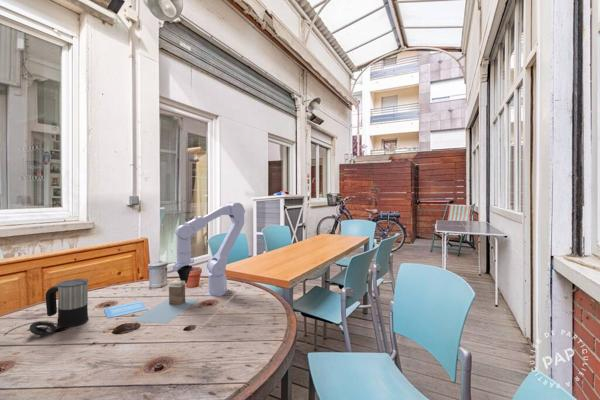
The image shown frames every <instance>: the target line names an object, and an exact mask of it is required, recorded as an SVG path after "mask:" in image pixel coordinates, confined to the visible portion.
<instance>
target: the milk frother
mask: <svg viewBox="0 0 600 400" xmlns="http://www.w3.org/2000/svg"><path fill="white" fill-rule="evenodd" d="M89 282H90V280H89V279H88V278H87V279H86V278H75V279H68V280H67V279H66V280H63V281H61V282H58V283H56V285H54V286H52V287H50V288H48V290H46V293H45V304H46V314H47V316H48V317H52V316H54V315H56V314H57V322H56V323H55V322H49V321H36V322H32V323H31V324H30V325H29V328H28V329H29V332H30V333H32V334H33V335H37V336H40V337H43V336H47V335H51V334H53V333H55V332H56V330H57V327H58V328H71V327H76V325H77V326H80V325H82V324H84V323H86V322H88V321H89V313H88V304H89V303H88V300H89V299H88V296H89V295H88V293H89V292H88V291H89V290H88V289H89V288H88V287H89V286H88V285H89ZM57 298H58V300H57ZM48 328H50V330H49V329H48ZM42 335H43V336H42Z"/></svg>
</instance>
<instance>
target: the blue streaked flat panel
mask: <svg viewBox="0 0 600 400" xmlns="http://www.w3.org/2000/svg"><path fill="white" fill-rule="evenodd" d="M103 311H104V314H105V316H106V317H107V319H112V318H116V317H120V316H121V317H122V316H125V315H128V314H134V313H139V312H144V311H149V309H148V307H147V306H146V305H145V304H144V303H143V301H140V300H138V301H133V302H129V303H123V304H118V305H114V306H109V307H104V308H103Z"/></svg>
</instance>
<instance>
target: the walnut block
mask: <svg viewBox="0 0 600 400" xmlns="http://www.w3.org/2000/svg"><path fill="white" fill-rule="evenodd" d="M168 298H169V305H181V304H183V303H184V302H185V299H186V283H185V281H180V280H172V281H171V282H169V283H168Z"/></svg>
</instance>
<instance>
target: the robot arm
mask: <svg viewBox="0 0 600 400" xmlns="http://www.w3.org/2000/svg"><path fill="white" fill-rule="evenodd" d="M245 213H246V209H245V207H244V205H243V204H242V203H240V202H231V201H230V202H228V203H227V204H223V205H221V206H219V207H218V208H215V209H214V210H213V211H211V212H209V213H208V214H206V215H204V216H202V215H199V216H198V215H195V216H194V217H193V219H192V220H191V219H190V220H189V221H185V222H184V224H180V225H179V226H177V227H176V229H175V235H176V261H175V262H174V265H172V271H174V272H175V271H176V272H177V274H178V277H179V281H185V284H187V283H188V280H189V275H190V273H191V271H192V268H193V265H192V264H194V263H195V259H194V258H192V255H191V254H192V248H191V245H192V243H191V237H192V235H194V234H196V233H197V232H199V231H201V230H203V229H204V228H206V227H207V224H208V223H209V222H212V221H213V220H216V219H218V218H220V217H221V216H228V217H229V218H230V221H231V225H230V227H229V230H228V232H226V235H225V236H224V239H223V241H222V242H221V244H220V246H219V249H218V250H217V252H216V253H215V254H214V255H213V256H212V258H211V259H209V260H208V262H207V264H206V268H207V271H208V273H207V274H208V277H207V278H208V279H207V281H208V282H207V283H208V289H207V290H208V292H206V293H205V294H204V295H205V296H213V297H215V296H217V297H222V296H223V295H224V294H226V292H227V291H229V288H228V285H227V284H228V277H227V275H226V273H225V272H226V271H227V270H226V269H227V268H226V267H227V264H228V257H229V255H230V253H231V251H232V249H233V247H234V245H235V243H236V241H237V239H238V237H239V235H240V233H241V231H242V229H243V228H244V225H245Z"/></svg>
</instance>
